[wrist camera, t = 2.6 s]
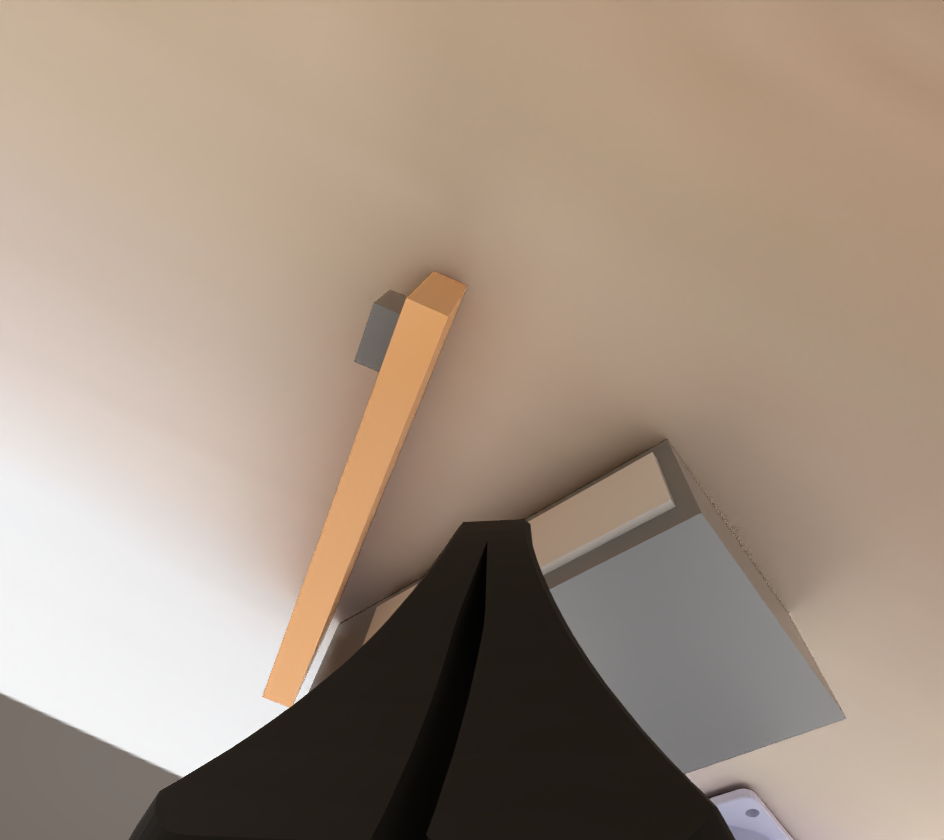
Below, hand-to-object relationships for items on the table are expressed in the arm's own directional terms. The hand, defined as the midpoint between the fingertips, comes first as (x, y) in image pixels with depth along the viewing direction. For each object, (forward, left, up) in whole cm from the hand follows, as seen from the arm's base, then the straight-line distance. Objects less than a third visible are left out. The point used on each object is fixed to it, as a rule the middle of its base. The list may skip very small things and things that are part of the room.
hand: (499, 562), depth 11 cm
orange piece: (+1, +5, -6) cm, 8 cm away
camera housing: (-7, +4, -7) cm, 10 cm away
